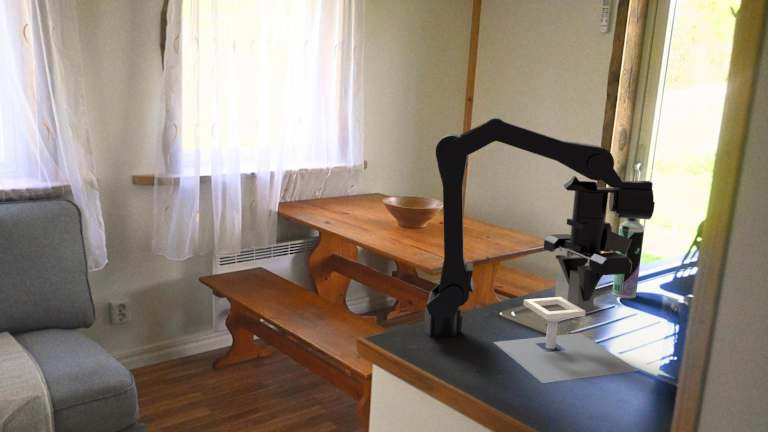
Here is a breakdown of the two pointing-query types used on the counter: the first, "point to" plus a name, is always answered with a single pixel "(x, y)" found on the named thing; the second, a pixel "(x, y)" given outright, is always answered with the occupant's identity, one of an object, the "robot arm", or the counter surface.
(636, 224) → the spray can
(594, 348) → the hook board
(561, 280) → the white gabled carton
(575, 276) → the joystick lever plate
